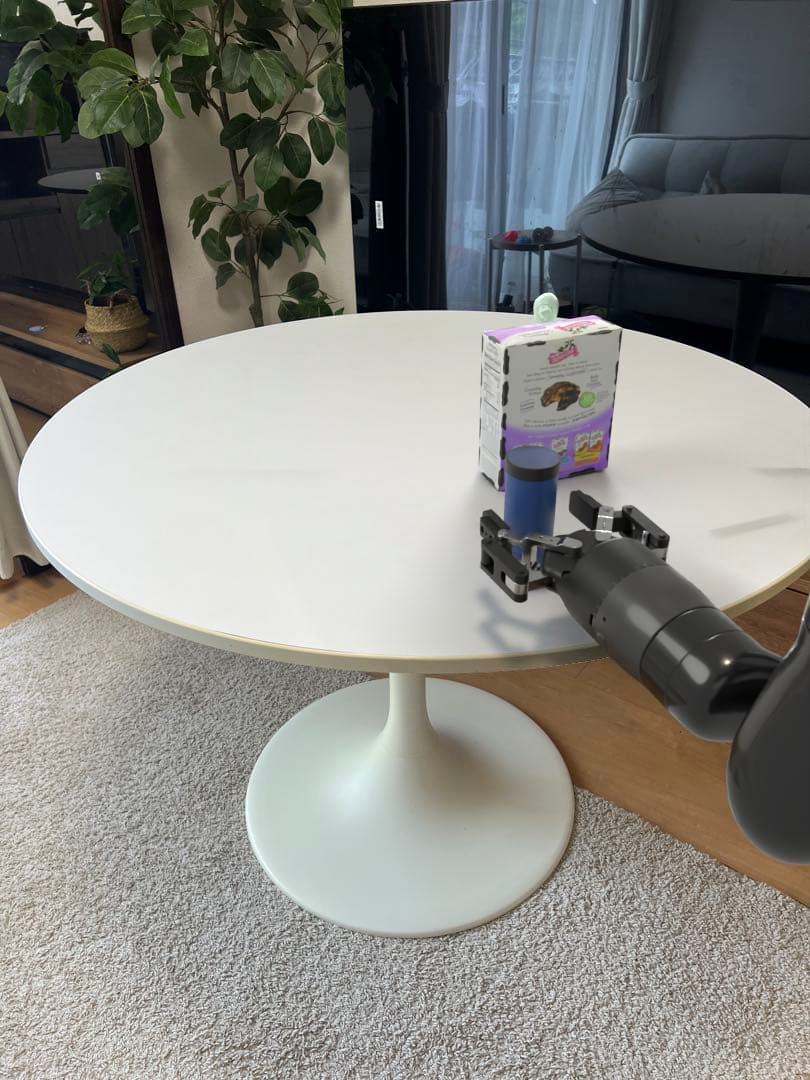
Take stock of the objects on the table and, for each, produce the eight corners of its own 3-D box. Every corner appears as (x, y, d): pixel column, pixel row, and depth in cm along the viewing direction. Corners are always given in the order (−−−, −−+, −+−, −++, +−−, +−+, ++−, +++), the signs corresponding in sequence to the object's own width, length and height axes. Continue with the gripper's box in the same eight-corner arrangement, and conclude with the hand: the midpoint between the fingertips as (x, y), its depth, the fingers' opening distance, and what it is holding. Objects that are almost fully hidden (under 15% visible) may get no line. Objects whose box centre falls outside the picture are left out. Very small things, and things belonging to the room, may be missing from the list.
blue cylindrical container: (535, 557, 75) (543, 441, 68) (560, 583, 71) (571, 462, 65) (491, 568, 73) (495, 450, 67) (514, 594, 70) (521, 473, 63)
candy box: (581, 450, 94) (595, 312, 86) (608, 470, 90) (626, 327, 81) (476, 470, 90) (479, 328, 82) (498, 492, 86) (505, 344, 77)
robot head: (530, 326, 137) (532, 287, 134) (553, 326, 137) (556, 286, 133) (534, 340, 130) (536, 299, 127) (559, 340, 130) (562, 299, 126)
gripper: (734, 546, 56) (604, 455, 68) (558, 592, 51) (455, 486, 64) (715, 630, 60) (595, 529, 72) (550, 679, 55) (454, 563, 68)
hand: (529, 509), depth 68 cm, fingers open, 8 cm apart
